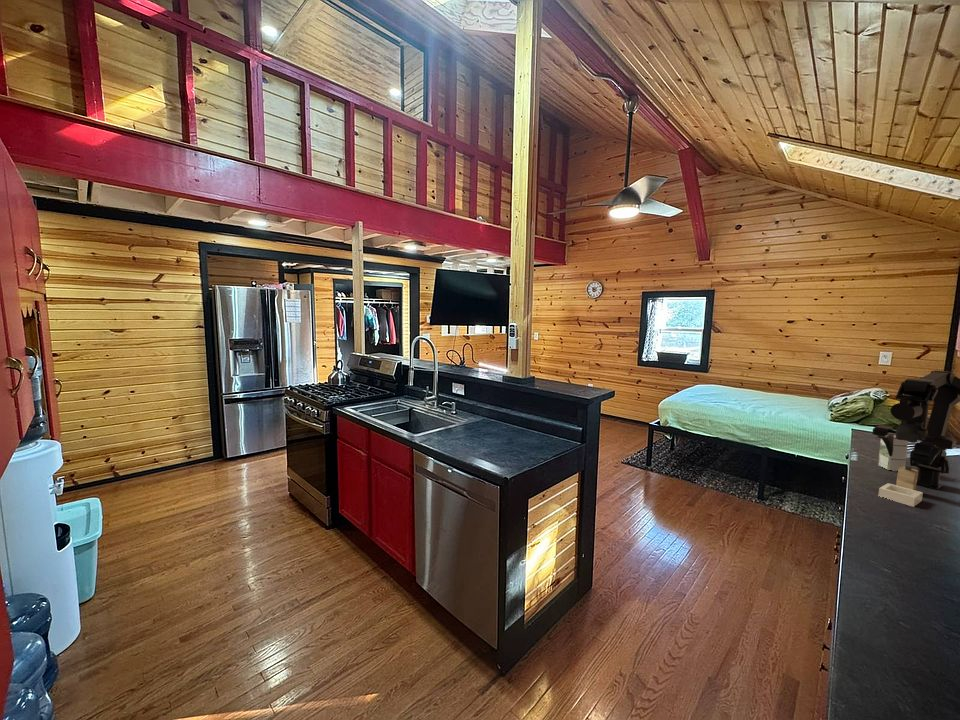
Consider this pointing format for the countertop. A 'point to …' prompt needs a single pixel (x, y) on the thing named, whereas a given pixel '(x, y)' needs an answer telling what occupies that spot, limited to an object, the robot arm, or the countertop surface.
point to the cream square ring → (900, 494)
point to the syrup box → (893, 455)
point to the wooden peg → (907, 477)
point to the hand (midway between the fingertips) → (909, 460)
